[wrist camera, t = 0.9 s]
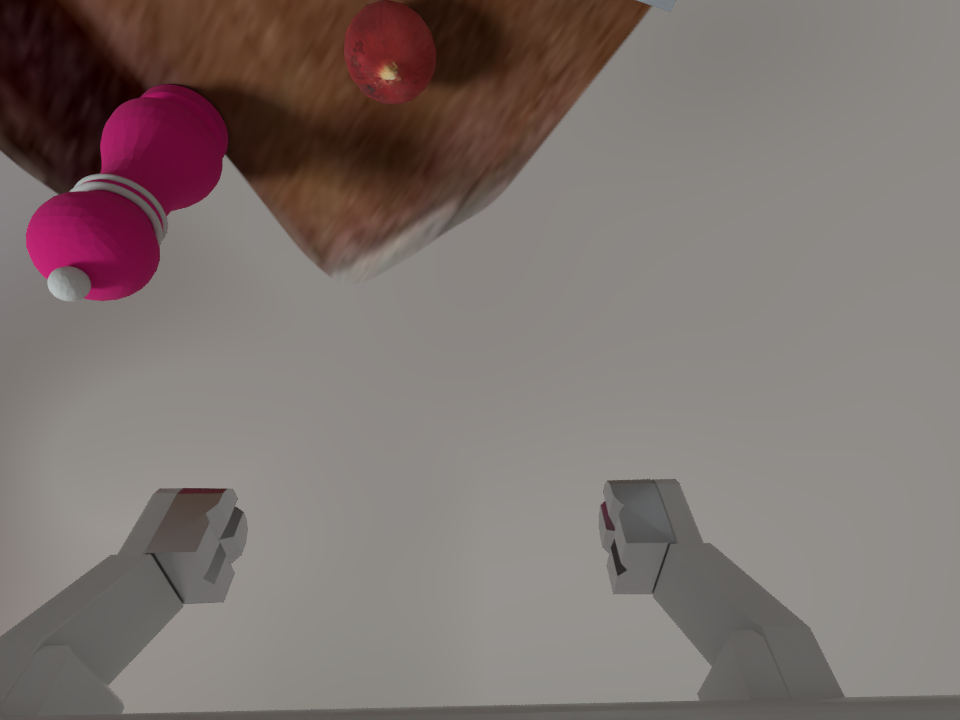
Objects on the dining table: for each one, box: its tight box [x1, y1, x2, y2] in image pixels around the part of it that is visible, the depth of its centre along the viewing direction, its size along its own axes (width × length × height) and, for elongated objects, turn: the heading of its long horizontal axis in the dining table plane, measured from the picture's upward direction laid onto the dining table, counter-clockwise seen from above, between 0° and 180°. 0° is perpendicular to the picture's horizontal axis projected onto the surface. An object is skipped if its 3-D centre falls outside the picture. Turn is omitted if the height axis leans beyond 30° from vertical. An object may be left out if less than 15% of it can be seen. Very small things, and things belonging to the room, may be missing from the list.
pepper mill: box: [26, 84, 228, 301], centre depth 34 cm, size 7×7×20 cm
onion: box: [344, 0, 437, 104], centre depth 35 cm, size 6×6×8 cm
